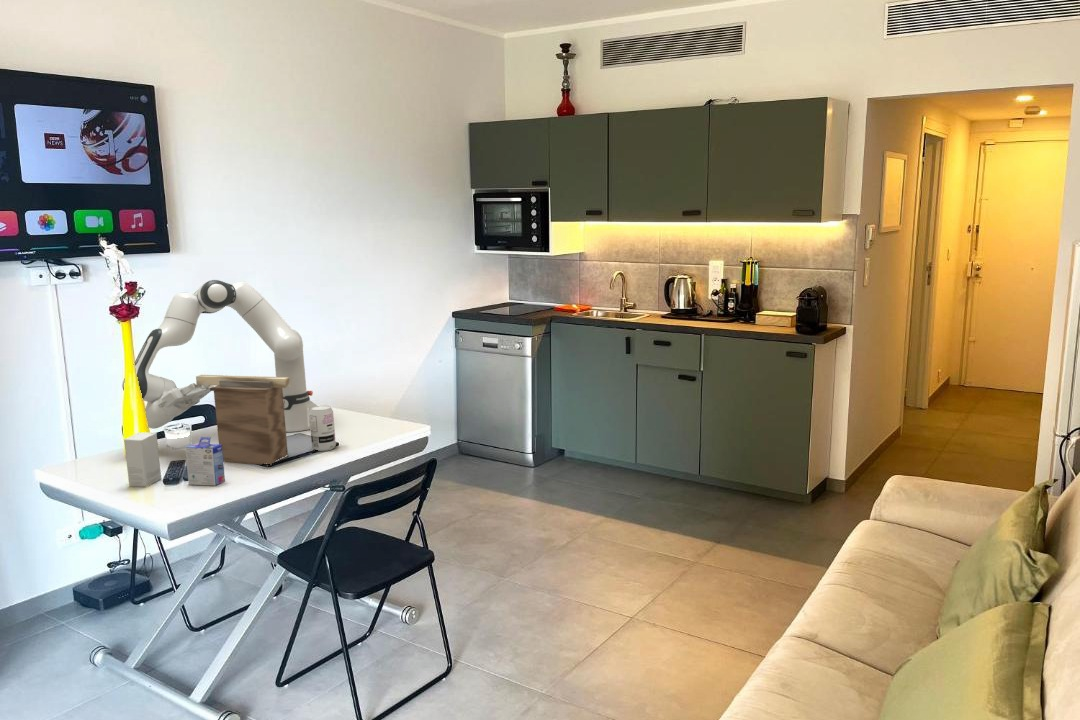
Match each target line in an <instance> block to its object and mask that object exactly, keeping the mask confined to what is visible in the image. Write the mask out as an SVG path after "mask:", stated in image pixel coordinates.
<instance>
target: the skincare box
mask: <svg viewBox="0 0 1080 720" xmlns="http://www.w3.org/2000/svg"><path fill="white" fill-rule="evenodd" d="M157 436H158V433H157V432H142V431H139V432H138V433H135V434H134V435H131V436H129V437H127V438H125V439H123V441H124V452H125V453H124V454H125V461H126V468H127V470H126V471H127V478H128V485H129V487H134V488H135V487H137V488H138V487H140V488H142V487H143V488H147V487H149V486H150V485H153V484H155V483H156V482H159V481H161V480H162V471H161V463H160V453H159V445H158V444H159V443H158V437H157Z"/></svg>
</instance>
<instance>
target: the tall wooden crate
mask: <svg viewBox="0 0 1080 720" xmlns="http://www.w3.org/2000/svg"><path fill="white" fill-rule="evenodd" d="M219 384H220V386H215V385H214V387H211V388H210V391H211V392H213V398H214V407H215V418H216V429H217V438H218V439H217V440H218V444H222V453H223V463H229V464H230V463H231V464H246V465H248V464H249V465H262V464H263V463H265V464H266V463H267V464H270V465H269V466H273V465H272V463H274V462H275V461H276V460H278V459H280V458H282V457H285V456H286V455H288V456H289V452H288V440H287V432H286V427H285V415H284V403H283V391H282V388H274V387H272V382H259V381H227V380H220V381H219Z"/></svg>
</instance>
